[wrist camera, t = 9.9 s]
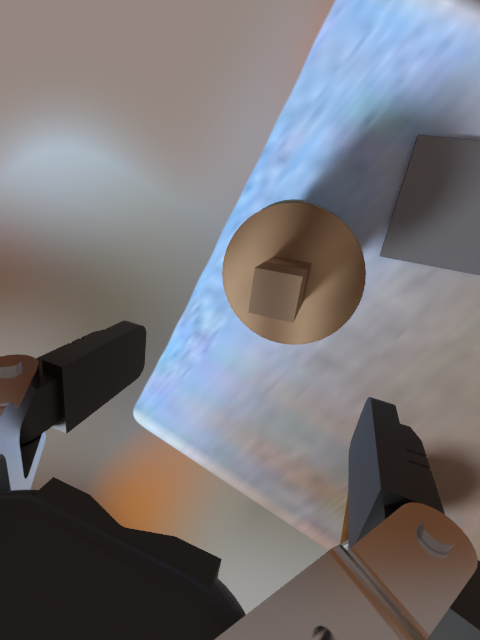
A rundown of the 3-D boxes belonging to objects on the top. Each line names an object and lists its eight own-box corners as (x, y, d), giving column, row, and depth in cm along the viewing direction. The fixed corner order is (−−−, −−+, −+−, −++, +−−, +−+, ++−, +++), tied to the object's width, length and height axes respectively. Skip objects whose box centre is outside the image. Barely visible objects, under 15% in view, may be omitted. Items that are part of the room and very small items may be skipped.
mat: (559, 150, 28) (564, 149, 28) (499, 278, 33) (501, 279, 32) (417, 136, 31) (419, 134, 30) (379, 255, 35) (380, 256, 35)
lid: (383, 214, 24) (398, 214, 17) (344, 353, 28) (343, 396, 21) (235, 194, 26) (199, 188, 20) (220, 323, 31) (187, 352, 24)
